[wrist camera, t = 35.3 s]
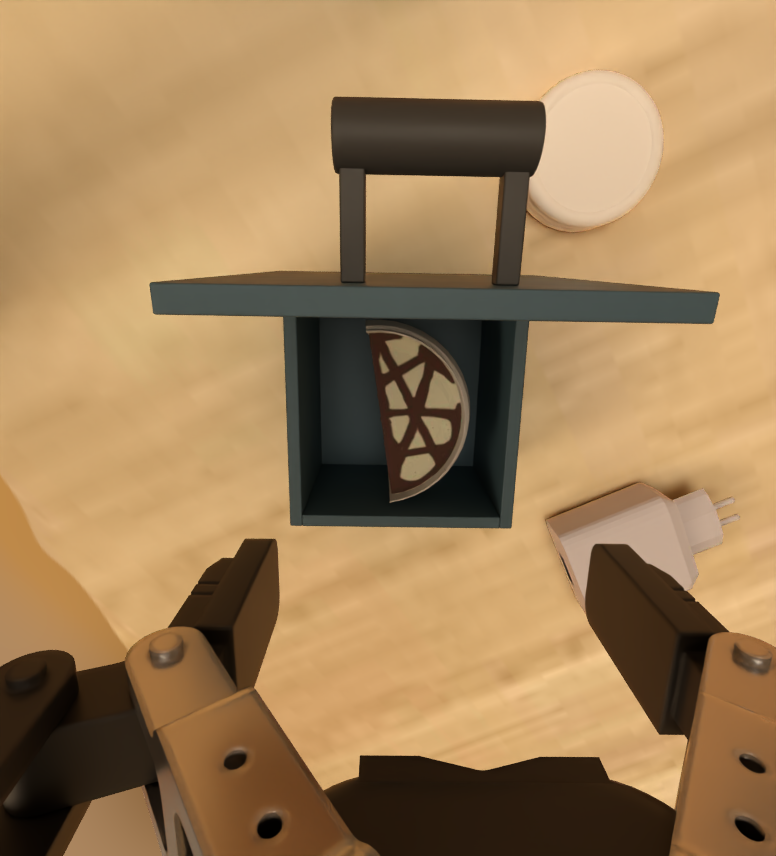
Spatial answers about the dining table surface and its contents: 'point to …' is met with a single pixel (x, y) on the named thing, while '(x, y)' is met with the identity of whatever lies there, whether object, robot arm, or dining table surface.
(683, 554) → the charger
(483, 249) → the dining table surface
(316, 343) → the cool chest
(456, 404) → the food container
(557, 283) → the lid
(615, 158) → the white round disc
